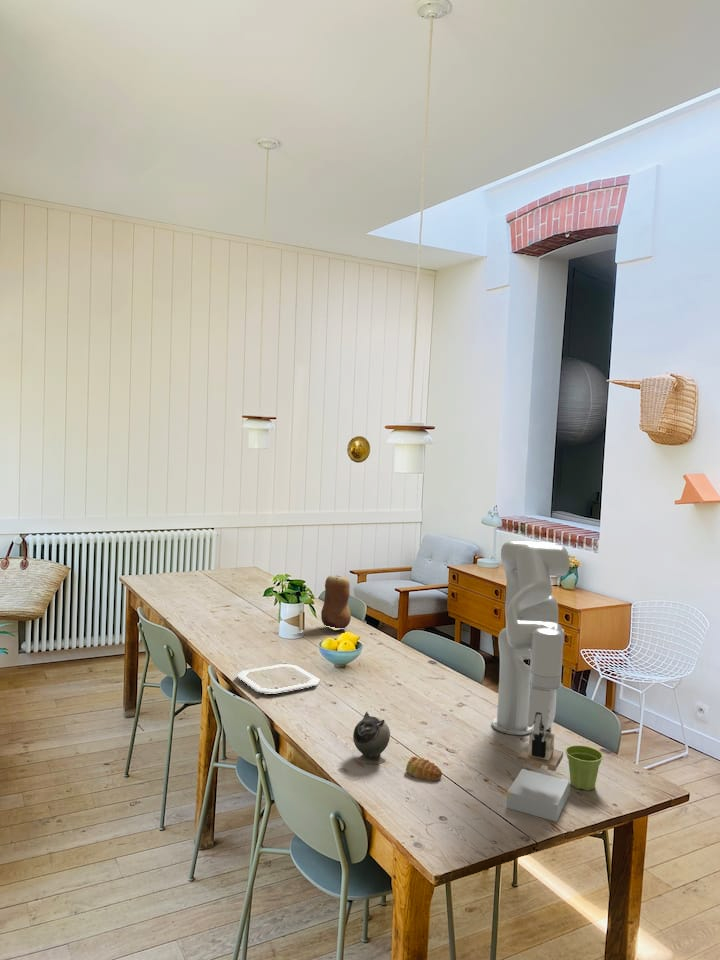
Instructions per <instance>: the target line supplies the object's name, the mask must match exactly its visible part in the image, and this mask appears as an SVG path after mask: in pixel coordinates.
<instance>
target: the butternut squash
mask: <svg viewBox="0 0 720 960" xmlns="http://www.w3.org/2000/svg"><path fill="white" fill-rule="evenodd" d="M350 589H351V587H350V581H349V579H348V578H347V577H345V576H343V575H338V574H334V575H333V574H332V575H328V577H326V580H325V583H324V601H323V606H322V609H321V612H320V614H321V617H320V618H321V619H320V620H321V622H322V624H323V625H324V626H325V625H326V626H330V627H335V628H345V627H346V628H347V627H348V626H349V625H350V622H351V618H352V614H351V610H350V606H349V598H350V591H351V590H350ZM326 626H325V627H326ZM346 628H345V629H346Z"/></svg>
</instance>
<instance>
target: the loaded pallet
mask: <svg viewBox="0 0 720 960" xmlns="http://www.w3.org/2000/svg"><path fill="white" fill-rule="evenodd" d="M540 733H541V734H542V733H543V731H540ZM528 737H529V739H528V743H526V745H525V746H524V748H523V749H522V751H521V752H520V753H519V754H518V757H517V762H518V763H519V764H520V763H521V764H525V765H526V763H527V762H529V763H532V766H533V767H536V768H539V769H540V768H541V767H542V766H545V767H547V770H548V771H553V772H556V771H557V769H558V767H559V765H560V764H561V762H562V760H563V758H564V751H562V750H558V749H554V748H555V732H552V731H551V732H547V731H546V734H545V741H546V752H545V758H541V757H537V756H533V755H532V739H533V731H532V732H531V733H529V736H528Z"/></svg>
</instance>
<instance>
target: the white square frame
mask: <svg viewBox="0 0 720 960" xmlns="http://www.w3.org/2000/svg"><path fill="white" fill-rule="evenodd" d="M279 667H287V668H292V669H294V670H296V671H298V673H300V674H302V675H303V676H305V677H307V678H308V679H309V681H308V682H307V683H304V684H298V685H293V686H288V687H283V688H278V689H267V688H261V687H260V686H259V685H257V684H256V683H254V682H253V681H251V680H250V679H248V678H247V677H246V675H247V674H248V673H249V672H255V671H261V670H267V669H273V668H279ZM236 675H237V677H238V678H239V679H241V680H242V681H243V682H245V683H246V684H247V685H246V684H245V683H244V684H245V685H246V686H248V687H249V686H250V687H251V689H252V690H253V689H254V690H253V691H254V692H256V693H258V692H260V693H259V694H261V693H271V694H273V693H278V692H284V691H290V690H295V689H301V688H307V687H311V688H313V687H312V686H314V687H317V686H318V684H319V683H320V681H321V680H320V678H318V677H317V676H315V675H313V674H312V673H310V672H308V671H307V670H305V669H303V668H302V667H300V666H298V665H296V664H288V663H280V664H275V665H274V664H273V665H268V666H262V667H261V666H260V667H256V668H250V669H244V670H241V671H240V672H238V673H237V674H236ZM238 678H237V679H238ZM239 679H238V680H239ZM241 680H240V681H241ZM242 681H241V682H242ZM243 682H242V683H243ZM250 687H249V688H250Z"/></svg>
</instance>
